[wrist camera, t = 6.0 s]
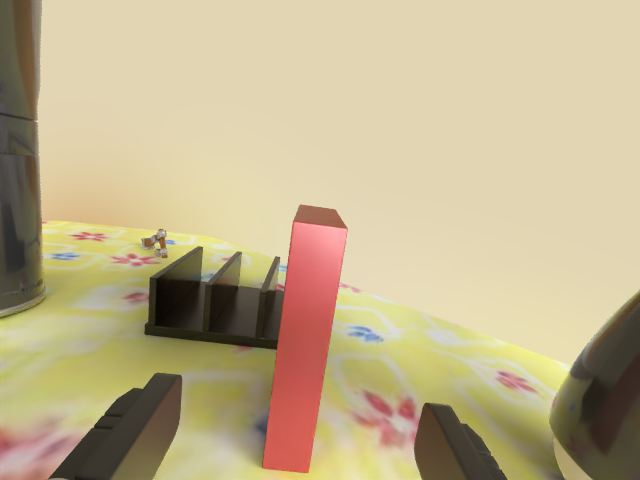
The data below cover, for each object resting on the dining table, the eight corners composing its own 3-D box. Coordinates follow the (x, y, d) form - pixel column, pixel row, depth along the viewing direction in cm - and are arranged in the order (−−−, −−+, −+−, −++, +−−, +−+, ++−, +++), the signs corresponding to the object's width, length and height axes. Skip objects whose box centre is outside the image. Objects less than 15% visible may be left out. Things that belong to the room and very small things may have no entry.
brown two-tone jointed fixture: (160, 257, 47) (157, 227, 48) (144, 263, 53) (141, 237, 53) (173, 256, 48) (170, 227, 49) (155, 262, 54) (152, 236, 54)
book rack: (144, 334, 29) (146, 277, 28) (193, 287, 40) (195, 245, 39) (315, 354, 29) (323, 299, 28) (314, 302, 41) (320, 262, 40)
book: (261, 469, 18) (292, 220, 15) (277, 377, 25) (299, 204, 23) (308, 473, 18) (348, 228, 15) (309, 380, 26) (335, 209, 23)
